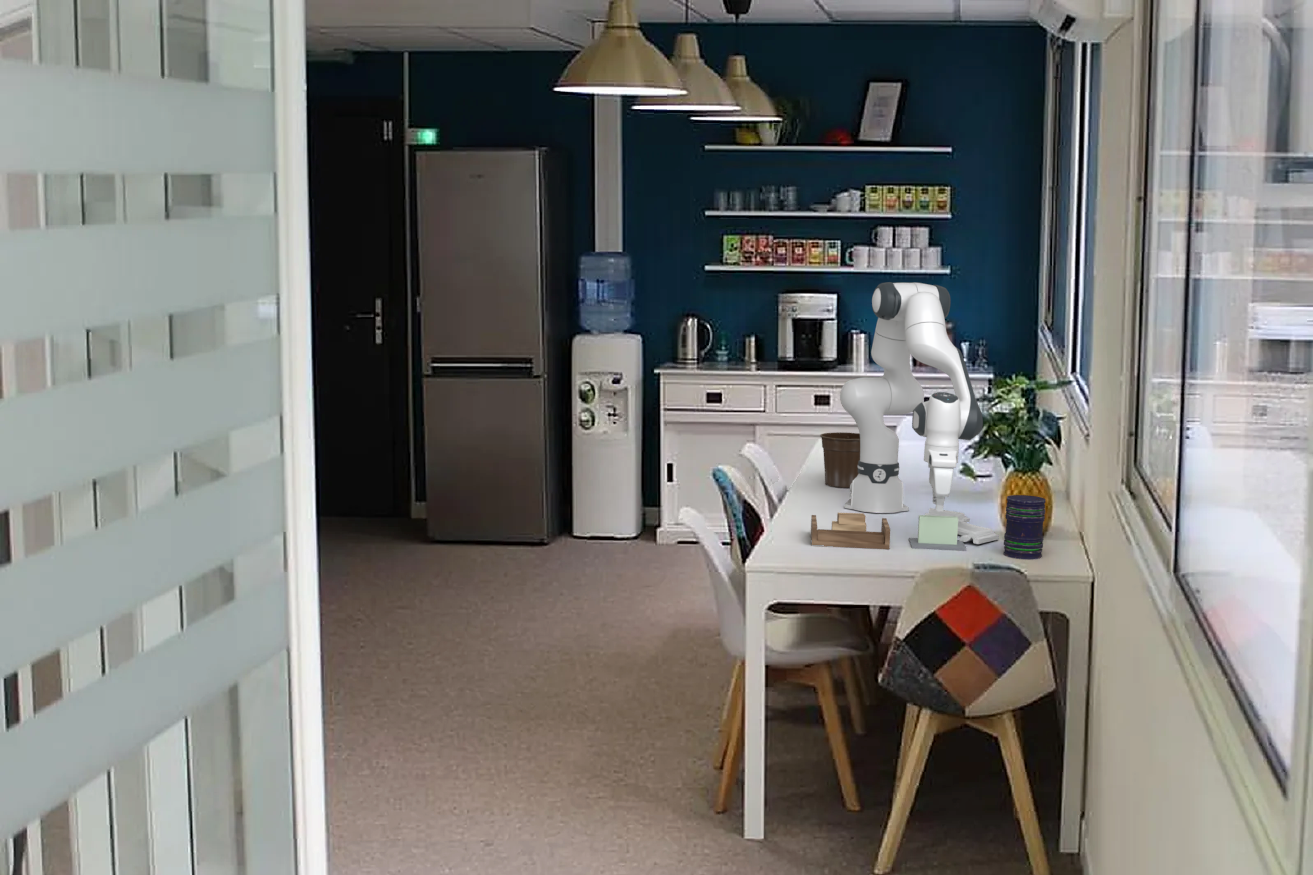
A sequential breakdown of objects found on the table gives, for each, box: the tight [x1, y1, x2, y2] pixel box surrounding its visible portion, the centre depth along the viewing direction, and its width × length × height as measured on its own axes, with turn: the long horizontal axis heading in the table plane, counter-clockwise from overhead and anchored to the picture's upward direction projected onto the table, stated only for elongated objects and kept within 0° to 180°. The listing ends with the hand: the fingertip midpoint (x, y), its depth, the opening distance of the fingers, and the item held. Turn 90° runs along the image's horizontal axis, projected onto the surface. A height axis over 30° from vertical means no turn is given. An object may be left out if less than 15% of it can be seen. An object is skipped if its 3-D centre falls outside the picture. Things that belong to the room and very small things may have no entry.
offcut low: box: [831, 520, 868, 531], centre depth 433 cm, size 4×9×3 cm, turn 86°
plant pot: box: [819, 431, 860, 489], centre depth 518 cm, size 16×16×16 cm
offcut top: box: [836, 512, 867, 525], centre depth 432 cm, size 4×7×2 cm, turn 90°
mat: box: [908, 537, 967, 551], centre depth 427 cm, size 11×14×1 cm
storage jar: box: [1003, 494, 1046, 561], centre depth 416 cm, size 10×10×15 cm
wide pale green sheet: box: [917, 514, 958, 545], centre depth 427 cm, size 2×10×7 cm, turn 86°
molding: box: [924, 507, 1000, 545], centre depth 448 cm, size 42×12×3 cm, turn 6°
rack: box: [810, 514, 891, 550], centre depth 428 cm, size 16×20×5 cm
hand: (937, 507), depth 426 cm, fingers open, 8 cm apart
